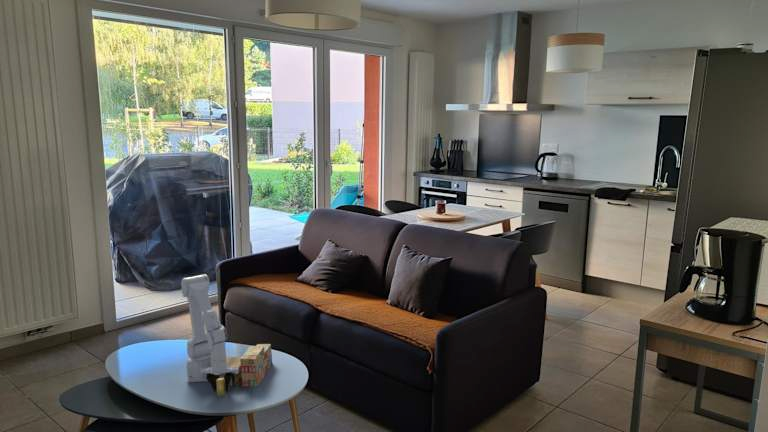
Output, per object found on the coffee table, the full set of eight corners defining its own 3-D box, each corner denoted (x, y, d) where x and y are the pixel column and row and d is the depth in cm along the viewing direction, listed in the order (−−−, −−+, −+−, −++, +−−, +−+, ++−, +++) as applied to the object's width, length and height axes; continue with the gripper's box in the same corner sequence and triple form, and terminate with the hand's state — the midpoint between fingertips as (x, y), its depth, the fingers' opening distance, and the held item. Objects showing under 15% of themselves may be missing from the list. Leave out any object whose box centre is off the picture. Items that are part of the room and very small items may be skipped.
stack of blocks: (258, 363, 237) (256, 337, 234) (272, 363, 236) (270, 337, 234) (242, 386, 216) (239, 358, 213) (257, 387, 215) (255, 358, 213)
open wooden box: (211, 387, 215) (210, 371, 214) (220, 373, 228) (218, 357, 227) (238, 386, 215) (237, 370, 214) (246, 372, 228) (244, 356, 227)
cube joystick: (213, 396, 208) (212, 382, 207) (223, 380, 222) (222, 366, 221) (226, 395, 208) (225, 381, 207) (235, 379, 222) (234, 366, 221)
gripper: (196, 363, 203) (199, 396, 205) (234, 361, 203) (237, 395, 206) (202, 355, 210) (204, 387, 212) (239, 354, 210) (241, 386, 213)
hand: (221, 390), depth 210 cm, fingers open, 4 cm apart
